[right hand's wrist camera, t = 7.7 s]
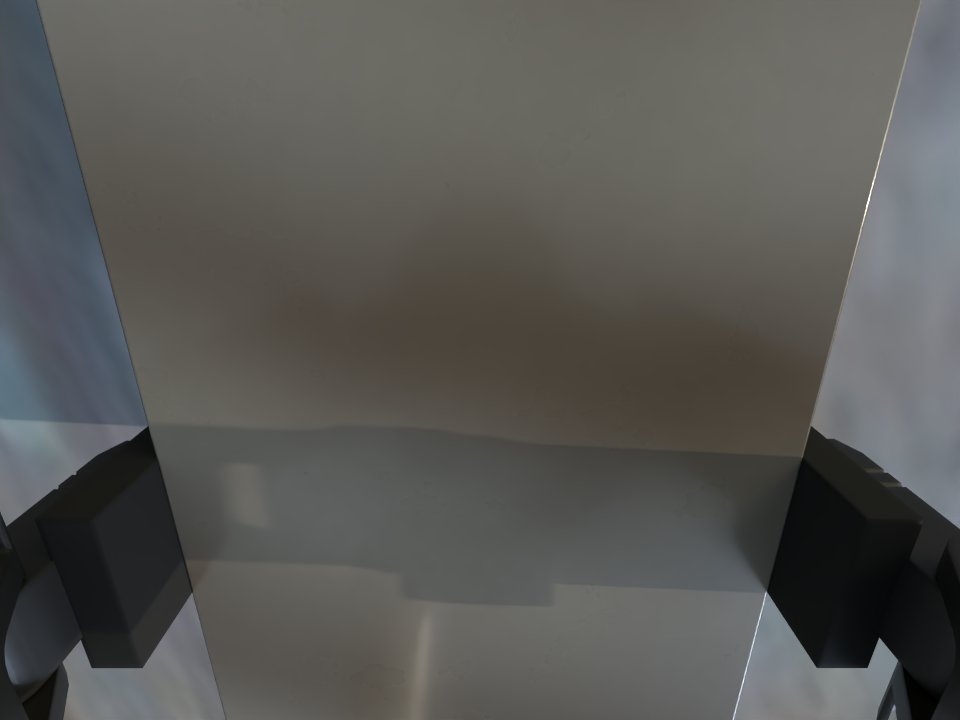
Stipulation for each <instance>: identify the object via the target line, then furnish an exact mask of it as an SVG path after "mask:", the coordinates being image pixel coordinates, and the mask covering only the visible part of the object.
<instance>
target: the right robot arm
mask: <svg viewBox="0 0 960 720" xmlns="http://www.w3.org/2000/svg"><path fill="white" fill-rule="evenodd" d="M191 593H192V589H191V585H190V582H189V578H188V574H187V570H186V566H185V563H184V559H183V555H182V551H181V548H180V544H179V540H178V536H177V532H176V529H175V525H174V521H173V517H172V514H171V510H170V506H169V502H168V498H167V495H166V491H165V487H164V483H163V479H162V476H161V472H160V468H159V464H158V461H157V457H156V453H155V449H154V445H153V442H152V438H151V434H150V430H149V427H147V428H145V429H144V430H143V431H142V432H140V433H139V434H138V435H137V436H136V437H134V438H133V439H132V440H131V441H125V442H123V443H121V444H119V445H117V446H115V447H113V448H111V449H109V450H107V451H105V452H103V453H101V454H99V455H97V456H96V457H94V458H93V459H92V460H91V461H89V462H88V463H87V464H86V465H84V466H83V467H82V468H80V469H79V470H78V471H77V473H76V475H72V476H70V477H69V478H68V479H67V480H65V481H64V482H63V483H61V484H60V485H59V488H58V489H54V490H53V491H51V492H50V493H49V494H47V495H46V496H45V497H44V498H42V499H41V500H40V501H39V502H37V503H36V504H35V505H34V506H32V507H31V508H30V509H28V510H27V511H26V512H25V513H23V514H22V515H21V516H20V517H18V518H17V519H16V520H14V521H13V522H12V523H11V524H9V525H8V526H7V527H6V525H5V522H4V520H3V517H2V515H1V513H0V720H63V717H64V711H65V705H66V698H67V692H68V686H69V684H68V677H67V672H66V670H65V668H64V665H63V663H62V662H63V660H64V659H65V658H66V657H67V656H68V654H69V653H70V652H71V651H72V649H73V648H74V647H75V646H76V645H77V643H78V642H79V641H80V640H81V641H82V644H83V646H84V649H85V652H86V654H87V657H88V659H89V662H90V665H91V667H92V668H143V666H144V665H145V663H146V662H147V660H148V659H149V657H150V656H151V654H152V653H153V651H154V650H155V648H156V647H157V645H158V644H159V642H160V640H161V639H162V637H163V636H164V634H165V633H166V631H167V630H168V628H169V627H170V625H171V624H172V622H173V621H174V619H175V618H176V616H177V615H178V613H179V611H180V610H181V608H182V607H183V605H184V604H185V602H186V601H187V599H188V598H189V596H190V595H191ZM768 594H769V596H770V597H771V599H772V600H773V602H774V603H775V605H776V606H777V608H778V609H779V611H780V612H781V614H782V615H783V617H784V618H785V620H786V621H787V623H788V625H789V626H790V628H791V629H792V631H793V632H794V634H795V635H796V637H797V638H798V640H799V641H800V643H801V644H802V646H803V647H804V649H805V650H806V652H807V654H808V655H809V657H810V658H811V660H812V661H813V663H814V664H815V666H816V667H817V668H868V665H869V663H870V660H871V657H872V655H873V652H874V650H875V647H876V644H877V642H878V639H879V637H880V639H881V640H882V641H883V642H884V644H885V645H886V646H887V647H888V648H889V650H890V651H891V652H892V653H893V654H894V656H895V657H896V658H897V659H898V663H897V665H896V668H895V670H894V672H893V675H892V677H891V680H890V682H889V685H888V687H887V689H886V692H885V694H884V697H883V699H882V702H881V704H880V706H879V709H878V715H877V720H888V718H889V716H890V713H891V711H893V710H896V715H897V720H960V529H959V528H958V527H956V526H955V525H954V524H952V523H951V522H950V521H949V520H947V519H946V518H945V517H944V516H942V515H941V514H940V513H938V512H937V511H936V510H935V509H933V508H932V507H931V506H929V505H928V504H927V503H926V502H924V501H923V500H922V499H920V498H919V497H918V496H917V495H915V494H914V493H913V492H912V491H910V490H909V489H908V488H906V487H902V486H901V483H900V482H899V481H897V480H896V479H895V478H894V477H892V476H891V475H890V474H889V473H884V472H883V469H882V468H881V467H880V466H878V465H877V464H876V463H874V462H873V461H872V460H871V459H869V458H868V457H867V456H865V455H864V454H863V453H861V452H859V451H857V450H855V449H853V448H851V447H849V446H847V445H845V444H843V443H841V442H839V441H837V440H835V439H826V438H825V437H824V436H823V435H821V434H820V433H819V432H818V431H817V430H815V429H814V428H813V427H812V426H811V428H810V431H809V435H808V439H807V443H806V447H805V450H804V454H803V458H802V462H801V466H800V470H799V473H798V477H797V481H796V485H795V489H794V493H793V496H792V500H791V504H790V508H789V512H788V515H787V519H786V523H785V527H784V531H783V535H782V538H781V542H780V546H779V550H778V554H777V558H776V561H775V565H774V569H773V573H772V577H771V580H770V584H769V588H768Z"/></svg>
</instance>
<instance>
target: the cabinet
mask: <svg viewBox="0 0 960 720" xmlns="http://www.w3.org/2000/svg"><path fill="white" fill-rule="evenodd" d="M36 3H37V7H38V11H39V14H40V18H41V22H42V26H43V29H44V33H45V37H46V41H47V45H48V48H49V52H50V56H51V60H52V63H53V67H54V71H55V75H56V79H57V82H58V86H59V90H60V94H61V97H62V101H63V105H64V109H65V113H66V116H67V120H68V124H69V128H70V132H71V135H72V139H73V143H74V147H75V150H76V154H77V158H78V162H79V166H80V169H81V173H82V177H83V181H84V184H85V188H86V192H87V196H88V200H89V203H90V207H91V211H92V215H93V219H94V222H95V226H96V230H97V234H98V237H99V241H100V245H101V249H102V253H103V256H104V260H105V264H106V268H107V271H108V275H109V279H110V283H111V287H112V290H113V294H114V298H115V302H116V305H117V309H118V313H119V317H120V321H121V324H122V328H123V332H124V336H125V340H126V343H127V347H128V351H129V355H130V358H131V362H132V366H133V370H134V374H135V377H136V381H137V385H138V389H139V392H140V396H141V400H142V404H143V408H144V411H145V415H146V419H147V423H148V427H149V430H150V434H151V438H152V442H153V445H154V449H155V453H156V457H157V461H158V464H159V468H160V472H161V476H162V479H163V483H164V487H165V491H166V495H167V498H168V502H169V506H170V510H171V514H172V517H173V521H174V525H175V529H176V532H177V536H178V540H179V544H180V548H181V551H182V555H183V559H184V563H185V566H186V570H187V574H188V578H189V582H190V585H191V589H192V593H193V597H194V600H195V604H196V608H197V612H198V616H199V619H200V623H201V627H202V631H203V635H204V638H205V642H206V646H207V650H208V653H209V657H210V661H211V665H212V669H213V672H214V676H215V680H216V684H217V687H218V691H219V695H220V699H221V703H222V706H223V710H224V714H225V718H226V720H734V718H735V714H736V710H737V707H738V703H739V699H740V695H741V691H742V687H743V684H744V680H745V676H746V672H747V668H748V665H749V661H750V657H751V653H752V649H753V645H754V642H755V638H756V634H757V630H758V626H759V622H760V619H761V615H762V611H763V607H764V603H765V600H766V596H767V592H768V588H769V584H770V580H771V577H772V573H773V569H774V565H775V561H776V558H777V554H778V550H779V546H780V542H781V538H782V535H783V531H784V527H785V523H786V519H787V515H788V512H789V508H790V504H791V500H792V496H793V493H794V489H795V485H796V481H797V477H798V473H799V470H800V466H801V462H802V458H803V454H804V450H805V447H806V443H807V439H808V435H809V431H810V428H811V424H812V420H813V416H814V412H815V408H816V405H817V401H818V397H819V393H820V389H821V385H822V382H823V378H824V374H825V370H826V366H827V363H828V359H829V355H830V351H831V347H832V343H833V340H834V336H835V332H836V328H837V324H838V320H839V317H840V313H841V309H842V305H843V301H844V298H845V294H846V290H847V286H848V282H849V278H850V275H851V271H852V267H853V263H854V259H855V255H856V252H857V248H858V244H859V240H860V236H861V233H862V229H863V225H864V221H865V217H866V213H867V210H868V206H869V202H870V198H871V194H872V190H873V187H874V183H875V179H876V175H877V171H878V168H879V164H880V160H881V156H882V152H883V148H884V145H885V141H886V137H887V133H888V129H889V125H890V122H891V118H892V114H893V110H894V106H895V103H896V99H897V95H898V91H899V87H900V83H901V80H902V76H903V72H904V68H905V64H906V60H907V57H908V53H909V49H910V45H911V41H912V38H913V34H914V30H915V26H916V22H917V18H918V15H919V11H920V7H921V3H922V0H36Z"/></svg>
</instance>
